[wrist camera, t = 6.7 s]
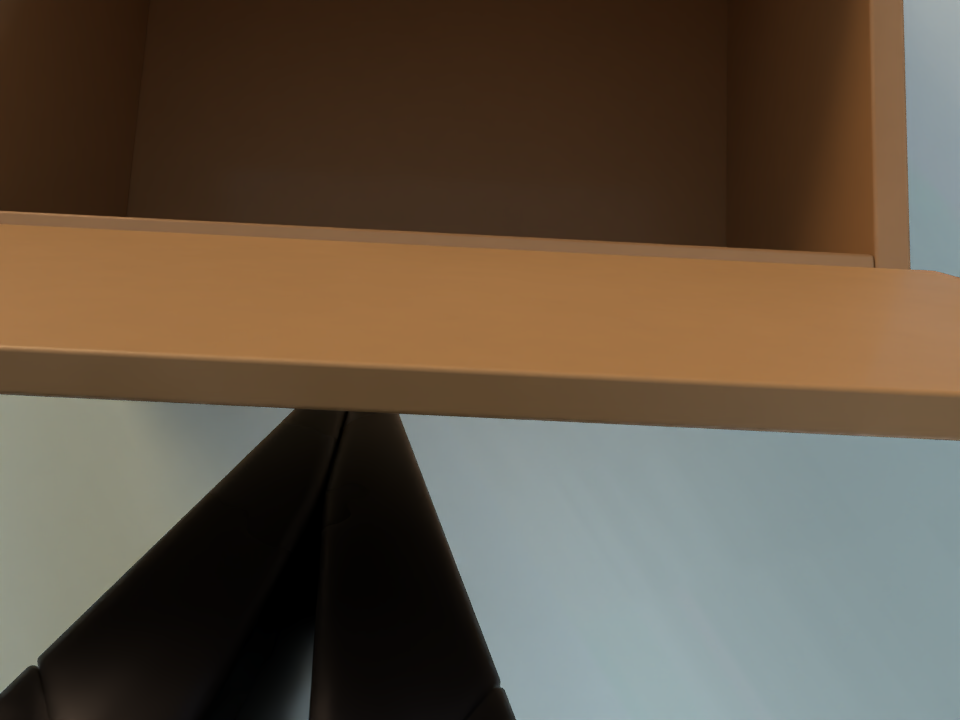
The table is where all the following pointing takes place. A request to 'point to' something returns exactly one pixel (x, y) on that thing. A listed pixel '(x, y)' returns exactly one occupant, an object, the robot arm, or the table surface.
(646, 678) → the table surface
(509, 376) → the flap
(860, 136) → the carton
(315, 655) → the robot arm
